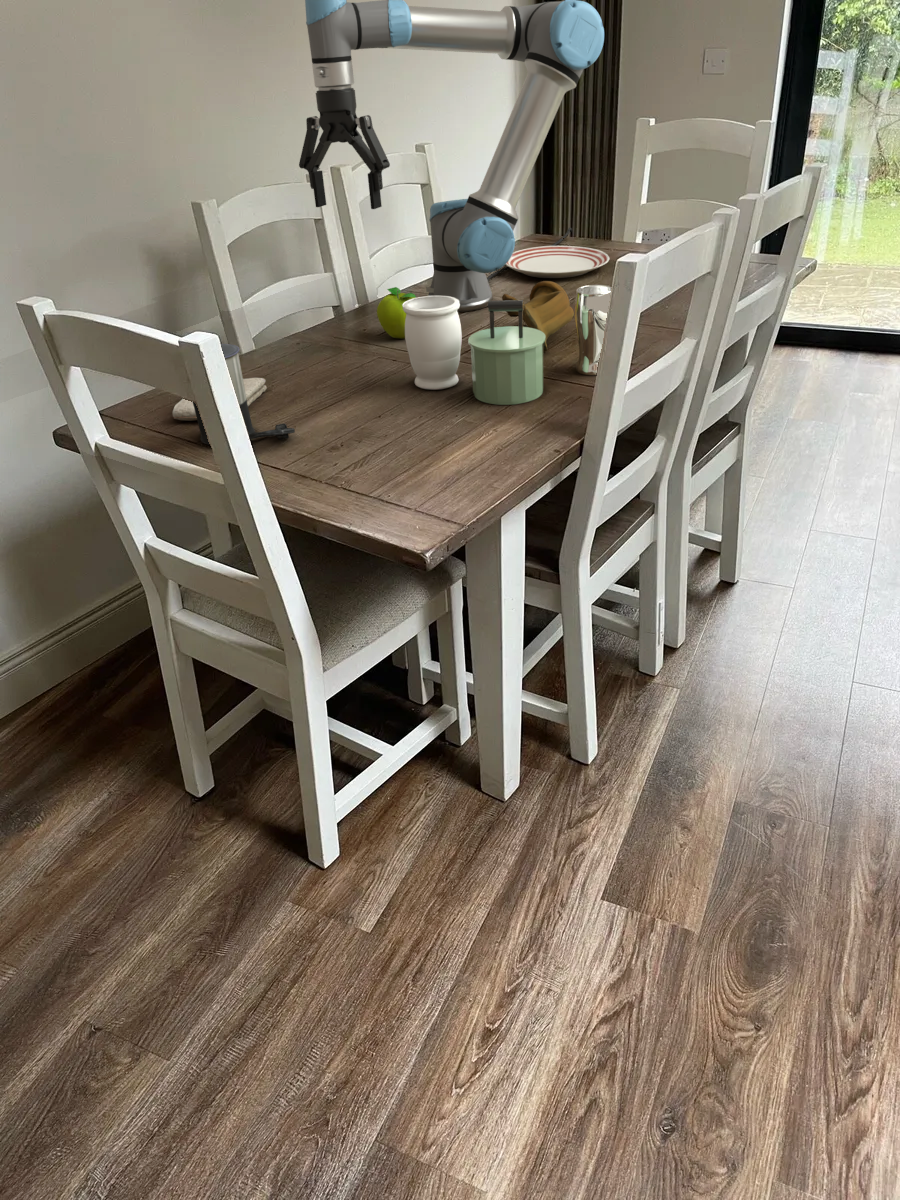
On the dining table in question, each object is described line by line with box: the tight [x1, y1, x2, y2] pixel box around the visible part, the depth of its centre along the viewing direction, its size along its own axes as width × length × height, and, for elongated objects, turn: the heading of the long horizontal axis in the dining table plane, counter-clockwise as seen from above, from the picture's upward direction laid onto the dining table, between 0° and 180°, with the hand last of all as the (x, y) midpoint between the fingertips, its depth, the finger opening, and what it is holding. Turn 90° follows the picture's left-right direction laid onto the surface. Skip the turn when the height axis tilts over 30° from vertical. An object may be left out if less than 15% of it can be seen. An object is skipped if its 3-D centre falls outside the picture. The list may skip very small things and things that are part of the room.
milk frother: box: [192, 343, 296, 446], centre depth 153 cm, size 14×16×15 cm
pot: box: [470, 344, 545, 406], centre depth 166 cm, size 13×13×10 cm
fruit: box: [376, 286, 417, 340], centre depth 198 cm, size 9×9×10 cm
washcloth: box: [172, 377, 268, 422], centre depth 171 cm, size 12×18×3 cm, turn 170°
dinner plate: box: [505, 245, 610, 279], centre depth 242 cm, size 27×27×3 cm
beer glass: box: [574, 284, 613, 376], centre depth 171 cm, size 7×7×15 cm
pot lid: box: [467, 299, 546, 353], centre depth 161 cm, size 14×14×8 cm
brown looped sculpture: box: [501, 280, 575, 354], centre depth 189 cm, size 18×13×22 cm
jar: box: [403, 295, 463, 391], centre depth 171 cm, size 11×10×15 cm
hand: (348, 207), depth 188 cm, fingers open, 13 cm apart
